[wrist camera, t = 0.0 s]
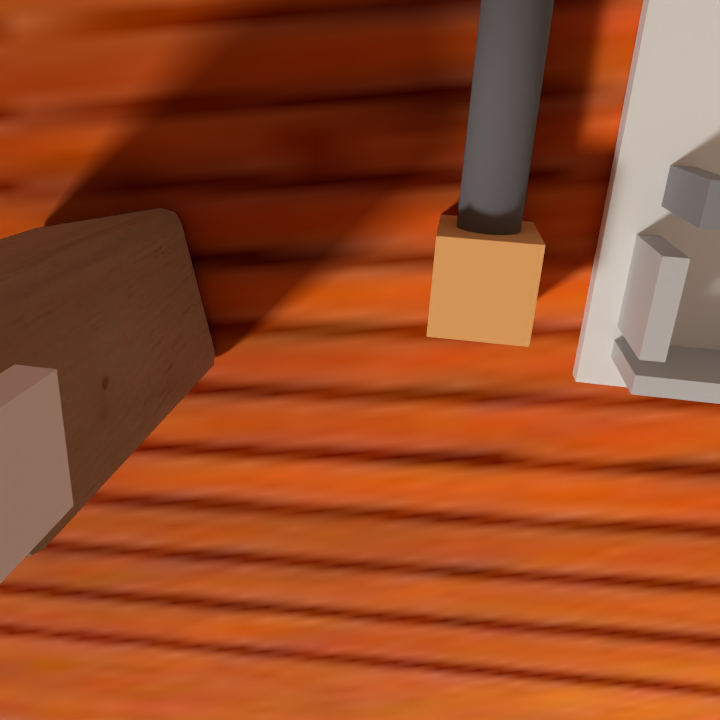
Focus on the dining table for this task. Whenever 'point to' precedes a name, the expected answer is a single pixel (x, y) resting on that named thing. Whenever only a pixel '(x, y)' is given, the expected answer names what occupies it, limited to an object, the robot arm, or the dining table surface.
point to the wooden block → (105, 332)
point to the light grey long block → (662, 217)
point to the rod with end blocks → (495, 187)
